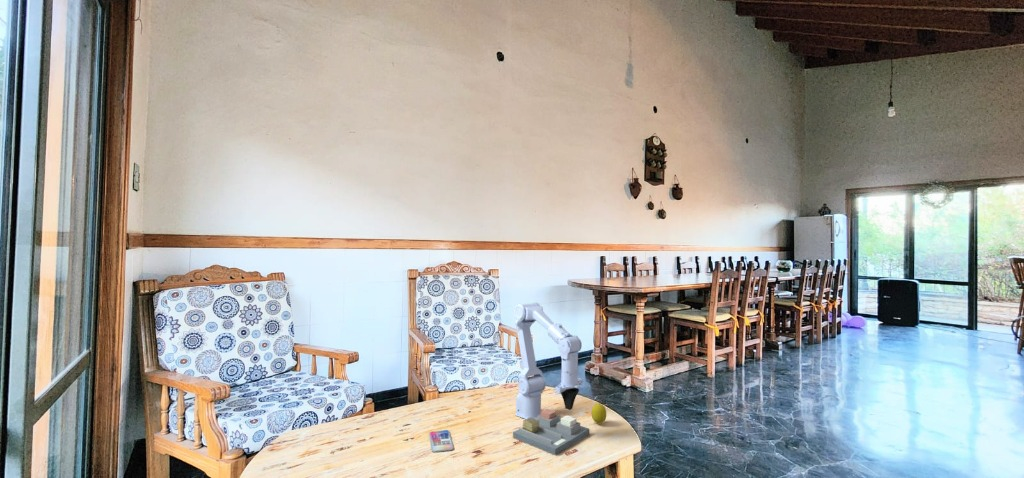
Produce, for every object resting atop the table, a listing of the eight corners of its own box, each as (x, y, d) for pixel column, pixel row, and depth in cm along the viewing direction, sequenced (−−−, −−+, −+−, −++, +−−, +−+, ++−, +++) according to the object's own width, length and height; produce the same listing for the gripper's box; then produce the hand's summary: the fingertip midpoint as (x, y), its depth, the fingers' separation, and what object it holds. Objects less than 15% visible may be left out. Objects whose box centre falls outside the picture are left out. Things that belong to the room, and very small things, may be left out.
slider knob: (523, 430, 153) (523, 420, 153) (530, 427, 156) (530, 417, 156) (531, 434, 150) (532, 423, 150) (539, 430, 153) (539, 420, 153)
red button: (540, 417, 161) (540, 411, 161) (547, 414, 164) (547, 408, 164) (549, 420, 158) (549, 414, 158) (555, 417, 161) (555, 411, 161)
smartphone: (431, 451, 140) (428, 431, 155) (431, 454, 140) (428, 434, 155) (454, 448, 142) (449, 429, 157) (454, 451, 142) (449, 431, 157)
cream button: (560, 424, 155) (560, 418, 155) (567, 420, 158) (567, 415, 158) (570, 427, 152) (570, 421, 152) (576, 424, 155) (576, 418, 155)
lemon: (606, 428, 162) (606, 406, 162) (591, 426, 163) (591, 405, 163) (606, 422, 167) (606, 401, 167) (591, 420, 168) (591, 399, 168)
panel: (513, 437, 152) (513, 425, 152) (548, 420, 168) (549, 408, 168) (555, 455, 140) (555, 441, 140) (589, 434, 156) (589, 422, 156)
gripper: (567, 377, 147) (566, 418, 147) (590, 368, 158) (589, 406, 158) (550, 373, 151) (549, 412, 151) (573, 364, 162) (572, 401, 162)
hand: (568, 409), depth 155 cm, fingers closed
